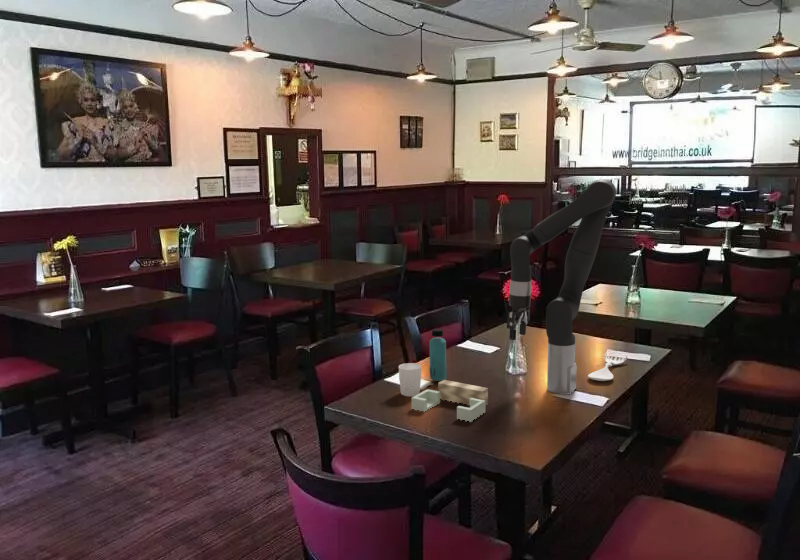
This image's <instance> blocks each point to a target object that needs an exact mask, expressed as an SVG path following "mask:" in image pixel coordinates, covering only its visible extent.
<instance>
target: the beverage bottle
mask: <svg viewBox="0 0 800 560" xmlns="http://www.w3.org/2000/svg"><path fill="white" fill-rule="evenodd" d="M431 336H432V338H431V339H430V340H429V341H428V342H429V378H430V379H431V380H432V381H443V380H447V376H448V369H447V341H446V340H445V338H443V336H444V330H443V329H440V328H434V329H432V330H431Z"/></svg>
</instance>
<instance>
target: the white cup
mask: <svg viewBox="0 0 800 560" xmlns="http://www.w3.org/2000/svg"><path fill="white" fill-rule="evenodd" d="M421 376H422V365H421V364H419V363H415V362H408V363H402V364H399V365H398V377H399V387H400V394H401V396H404V397H414V396H416V395H418V394H420V393H421V382H422V381H421V380H422V379H421V378H422V377H421Z"/></svg>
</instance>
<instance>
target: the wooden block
mask: <svg viewBox="0 0 800 560" xmlns="http://www.w3.org/2000/svg"><path fill="white" fill-rule="evenodd" d="M437 389H438V391H439V392H440V399H441V400H440V401H445V400H447V401H446V402H450V401H452V402H451V403H455V402H457V403H456V404H459V403H463V404H462V405H464V404H467V405H466V406H469V405H470V402H469V399H471V398H475V399H480V400H485V407H487V406H488V405H489V388H488V387H483V386H479V385H473V384H467V383H465V382H463V383H462V382H458V381H452V380H448V379H445V380H440V381H438V384H437ZM486 405H487V406H486Z"/></svg>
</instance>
